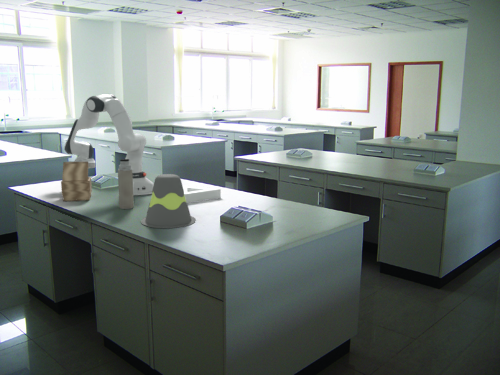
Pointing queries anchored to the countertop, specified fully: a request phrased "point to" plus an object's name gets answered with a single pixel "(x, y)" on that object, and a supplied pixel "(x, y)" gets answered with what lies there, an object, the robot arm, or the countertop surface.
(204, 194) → the triangular ruler
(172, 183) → the grey tapered cylinder
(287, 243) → the countertop surface
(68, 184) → the carton
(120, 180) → the thermos bottle
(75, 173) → the carton flap
